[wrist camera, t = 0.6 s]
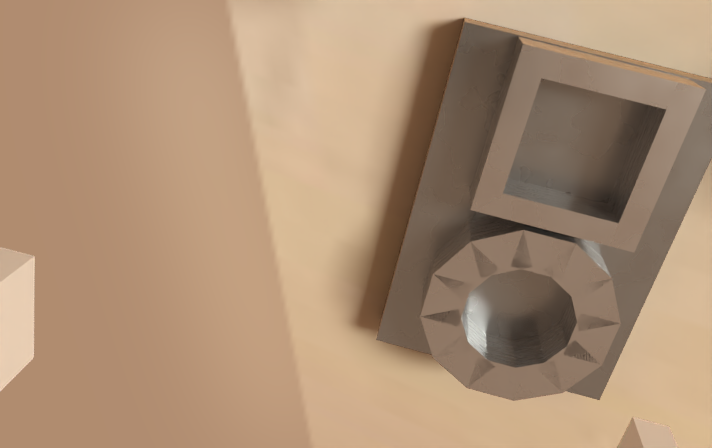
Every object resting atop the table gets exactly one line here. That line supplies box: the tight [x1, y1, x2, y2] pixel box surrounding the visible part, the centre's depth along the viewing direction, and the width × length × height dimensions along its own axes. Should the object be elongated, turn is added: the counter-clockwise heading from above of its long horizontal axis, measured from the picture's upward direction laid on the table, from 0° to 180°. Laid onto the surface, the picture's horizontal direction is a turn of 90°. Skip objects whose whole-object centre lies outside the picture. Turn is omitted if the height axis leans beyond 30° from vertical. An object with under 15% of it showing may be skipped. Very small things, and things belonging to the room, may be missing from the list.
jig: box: [376, 18, 712, 401], centre depth 34 cm, size 18×13×5 cm
